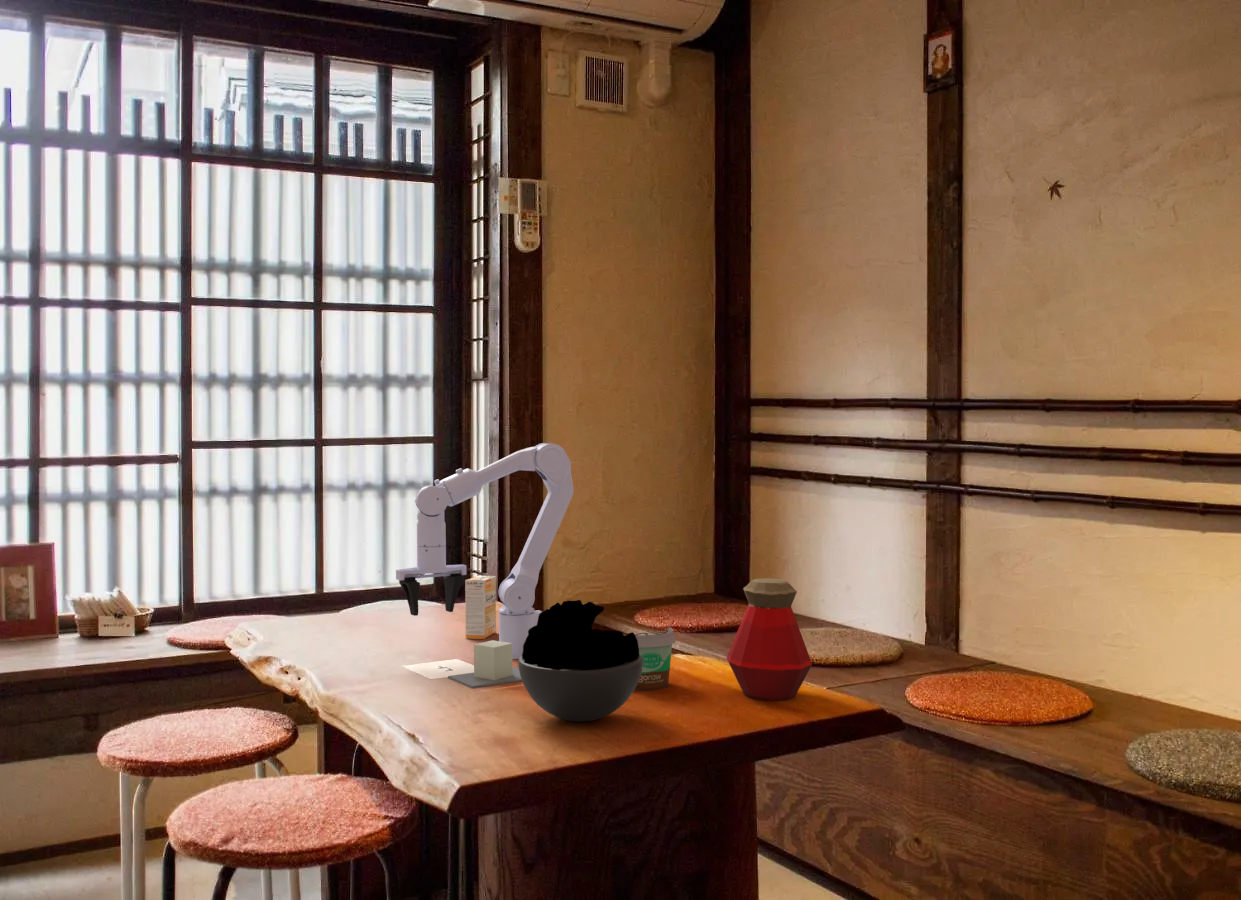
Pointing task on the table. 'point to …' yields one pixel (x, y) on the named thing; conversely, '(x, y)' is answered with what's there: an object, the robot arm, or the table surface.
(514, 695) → the table surface
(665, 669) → the food container
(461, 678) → the slate mat
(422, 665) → the card
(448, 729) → the table surface
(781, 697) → the bottle
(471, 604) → the supplement box
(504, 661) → the sage block
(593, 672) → the bowl of black rocks
